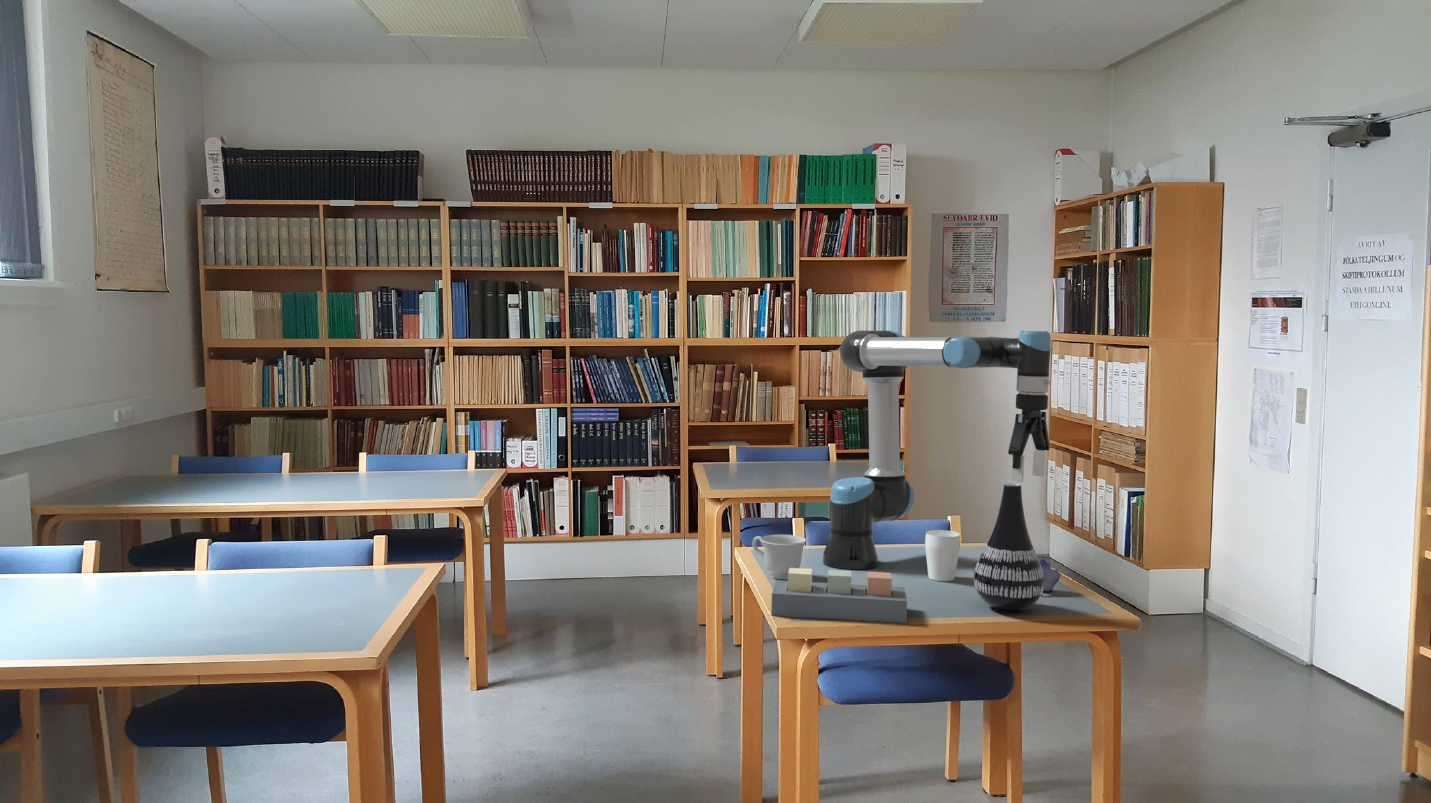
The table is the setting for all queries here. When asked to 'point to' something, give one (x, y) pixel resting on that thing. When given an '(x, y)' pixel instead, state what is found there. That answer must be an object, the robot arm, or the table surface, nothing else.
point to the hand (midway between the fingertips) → (1027, 478)
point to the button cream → (800, 580)
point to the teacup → (780, 553)
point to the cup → (942, 554)
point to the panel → (839, 603)
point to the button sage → (839, 582)
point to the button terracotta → (879, 584)
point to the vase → (1009, 559)
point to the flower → (1049, 575)
